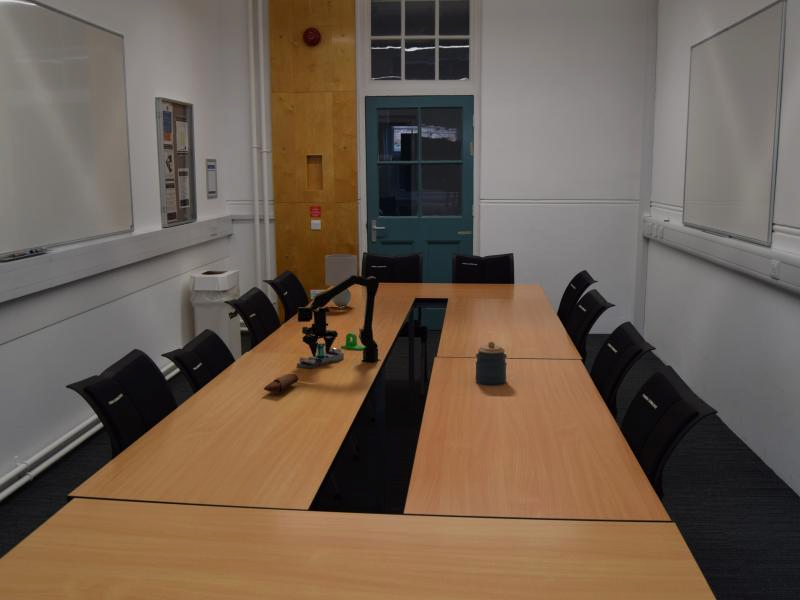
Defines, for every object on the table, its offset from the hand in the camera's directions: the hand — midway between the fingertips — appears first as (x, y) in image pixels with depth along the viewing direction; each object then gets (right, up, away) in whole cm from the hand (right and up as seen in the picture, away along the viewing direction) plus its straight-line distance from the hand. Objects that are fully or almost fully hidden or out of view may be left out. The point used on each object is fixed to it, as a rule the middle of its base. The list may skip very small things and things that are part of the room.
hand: (320, 354), depth 374 cm
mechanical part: (+14, 0, +30) cm, 33 cm away
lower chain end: (-2, -4, -3) cm, 6 cm away
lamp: (-1, +18, +147) cm, 148 cm away
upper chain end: (+2, -3, +4) cm, 6 cm away
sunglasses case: (-14, -11, -43) cm, 46 cm away
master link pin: (0, -4, +1) cm, 4 cm away
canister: (+75, -10, -35) cm, 83 cm away
